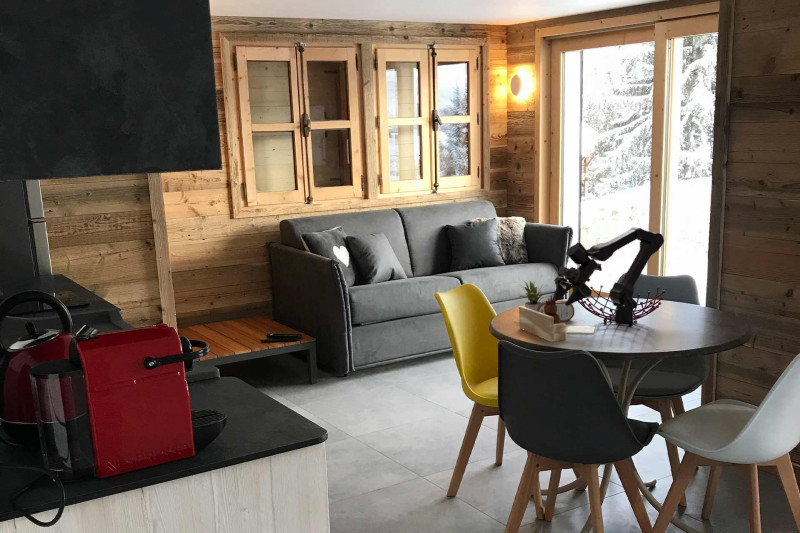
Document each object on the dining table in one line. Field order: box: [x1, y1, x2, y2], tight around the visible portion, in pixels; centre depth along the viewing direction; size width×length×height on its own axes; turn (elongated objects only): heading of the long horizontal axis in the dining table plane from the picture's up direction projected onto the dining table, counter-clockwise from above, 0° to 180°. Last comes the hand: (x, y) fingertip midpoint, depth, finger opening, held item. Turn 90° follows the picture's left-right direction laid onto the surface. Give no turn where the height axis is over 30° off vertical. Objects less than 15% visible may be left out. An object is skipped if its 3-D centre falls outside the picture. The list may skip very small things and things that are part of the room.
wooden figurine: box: [544, 293, 561, 324], centre depth 300 cm, size 7×6×15 cm
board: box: [566, 325, 596, 335], centre depth 302 cm, size 10×10×1 cm
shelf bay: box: [518, 305, 567, 342], centre depth 299 cm, size 6×24×9 cm, turn 20°
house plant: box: [518, 280, 549, 311], centre depth 328 cm, size 14×14×16 cm
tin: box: [537, 300, 575, 323], centre depth 320 cm, size 15×3×8 cm, turn 84°
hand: (559, 303), depth 301 cm, fingers open, 9 cm apart
